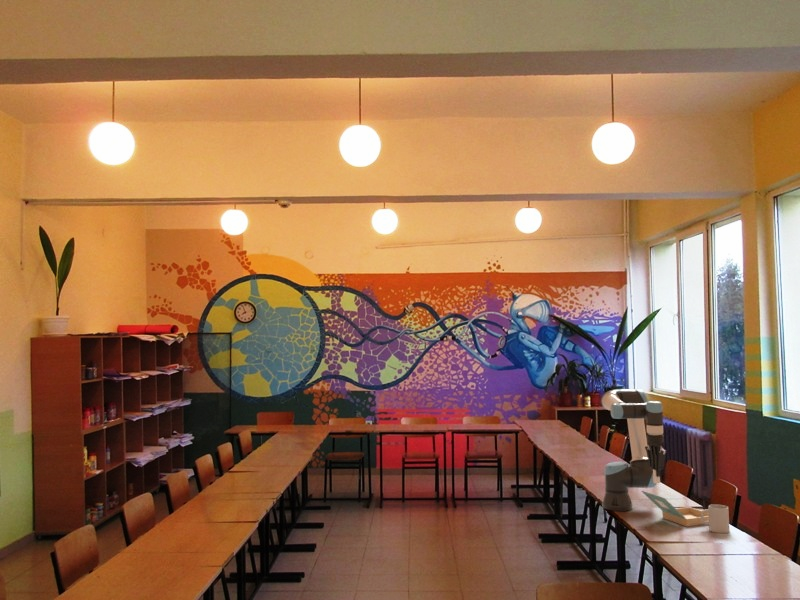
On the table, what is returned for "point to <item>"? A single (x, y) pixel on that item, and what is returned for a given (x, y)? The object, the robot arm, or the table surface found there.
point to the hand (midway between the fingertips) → (656, 482)
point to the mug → (717, 518)
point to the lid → (663, 504)
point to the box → (687, 517)
